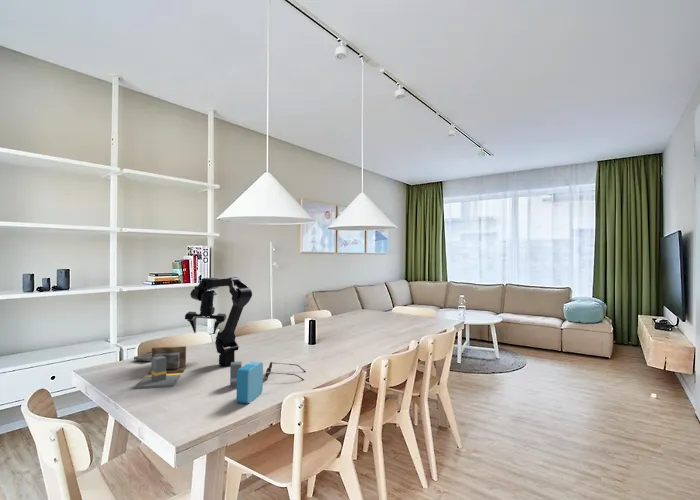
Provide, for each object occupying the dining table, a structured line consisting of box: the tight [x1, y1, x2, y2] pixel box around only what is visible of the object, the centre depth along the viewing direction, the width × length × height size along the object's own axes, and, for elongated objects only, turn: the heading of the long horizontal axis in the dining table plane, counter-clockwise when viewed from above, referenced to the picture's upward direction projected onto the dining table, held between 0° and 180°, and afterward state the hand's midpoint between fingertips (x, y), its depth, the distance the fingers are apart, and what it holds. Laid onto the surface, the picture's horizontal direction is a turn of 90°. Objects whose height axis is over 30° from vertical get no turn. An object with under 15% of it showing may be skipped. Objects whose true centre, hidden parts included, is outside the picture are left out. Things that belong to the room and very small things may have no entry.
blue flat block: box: [235, 361, 264, 404], centre depth 135 cm, size 12×4×12 cm, turn 168°
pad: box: [133, 373, 182, 390], centre depth 151 cm, size 14×14×1 cm
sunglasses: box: [265, 361, 307, 381], centre depth 160 cm, size 14×16×5 cm
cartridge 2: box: [229, 361, 243, 389], centre depth 147 cm, size 4×4×9 cm
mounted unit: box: [147, 345, 187, 375], centre depth 165 cm, size 14×7×10 cm, turn 103°
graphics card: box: [133, 351, 152, 362], centre depth 185 cm, size 17×4×12 cm
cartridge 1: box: [151, 356, 167, 382], centre depth 151 cm, size 4×4×9 cm
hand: (204, 333), depth 185 cm, fingers open, 9 cm apart
